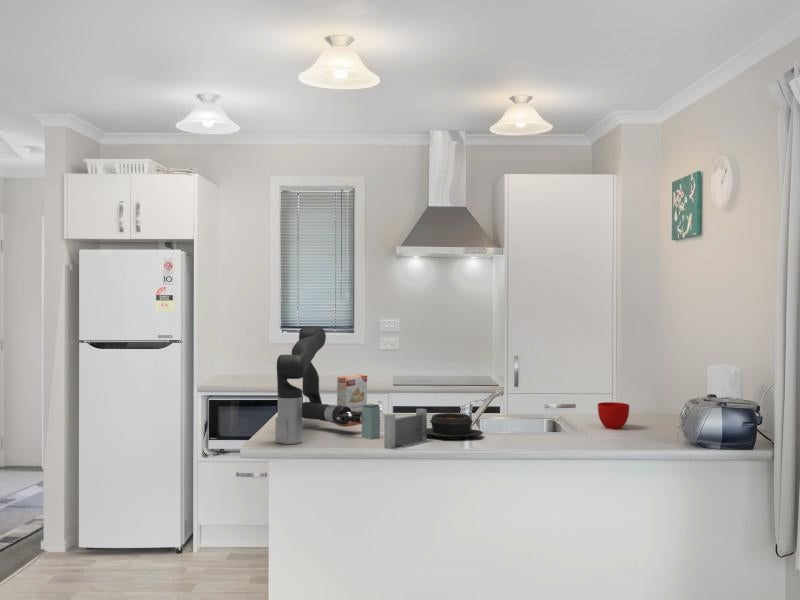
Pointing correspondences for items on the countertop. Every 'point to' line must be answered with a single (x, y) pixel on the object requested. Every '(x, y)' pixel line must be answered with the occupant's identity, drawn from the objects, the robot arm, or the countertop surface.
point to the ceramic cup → (613, 414)
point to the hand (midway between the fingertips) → (366, 418)
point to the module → (370, 421)
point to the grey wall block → (405, 429)
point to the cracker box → (352, 393)
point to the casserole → (452, 426)
